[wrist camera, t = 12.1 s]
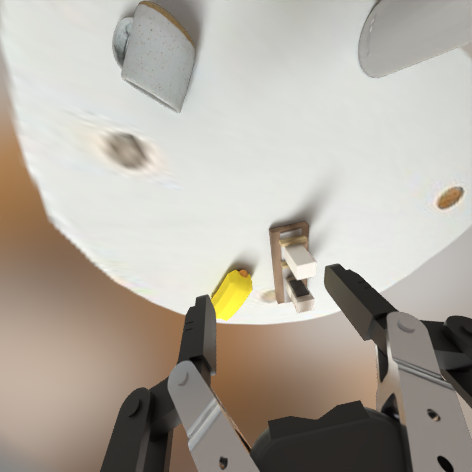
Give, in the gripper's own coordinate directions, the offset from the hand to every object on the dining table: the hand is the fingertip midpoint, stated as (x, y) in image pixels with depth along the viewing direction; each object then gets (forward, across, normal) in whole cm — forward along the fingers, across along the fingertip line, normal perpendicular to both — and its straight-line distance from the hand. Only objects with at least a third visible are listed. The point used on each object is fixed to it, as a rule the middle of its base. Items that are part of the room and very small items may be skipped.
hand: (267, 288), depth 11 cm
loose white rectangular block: (+25, -11, +17) cm, 32 cm away
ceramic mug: (+28, +7, -20) cm, 35 cm away
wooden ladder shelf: (+27, -11, +25) cm, 38 cm away
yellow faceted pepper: (+28, +7, +28) cm, 40 cm away
